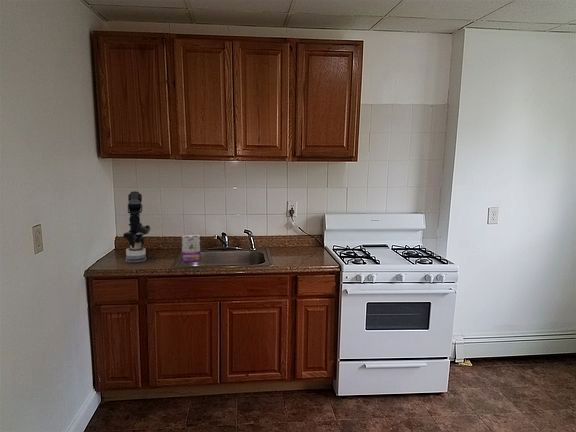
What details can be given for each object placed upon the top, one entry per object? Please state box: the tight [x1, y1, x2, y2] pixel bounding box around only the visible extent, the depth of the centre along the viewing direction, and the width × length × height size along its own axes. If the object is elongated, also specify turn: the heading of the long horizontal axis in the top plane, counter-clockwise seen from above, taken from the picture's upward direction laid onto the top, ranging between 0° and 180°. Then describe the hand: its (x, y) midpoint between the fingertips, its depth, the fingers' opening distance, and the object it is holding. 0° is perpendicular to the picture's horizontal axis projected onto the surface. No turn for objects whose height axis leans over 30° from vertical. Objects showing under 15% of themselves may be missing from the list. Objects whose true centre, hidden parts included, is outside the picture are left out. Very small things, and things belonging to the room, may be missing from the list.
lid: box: [129, 243, 142, 250], centre depth 232 cm, size 6×6×3 cm
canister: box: [125, 246, 147, 264], centre depth 232 cm, size 12×12×7 cm
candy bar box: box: [181, 234, 202, 264], centre depth 232 cm, size 11×5×16 cm, turn 106°
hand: (135, 246), depth 232 cm, fingers closed on lid, 6 cm apart
